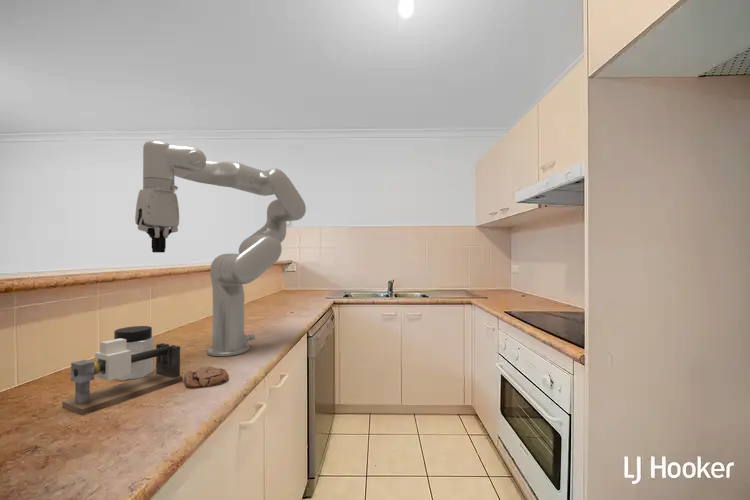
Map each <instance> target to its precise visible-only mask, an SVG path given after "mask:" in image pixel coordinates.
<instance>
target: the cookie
mask: <svg viewBox="0 0 750 500" xmlns="http://www.w3.org/2000/svg"><path fill="white" fill-rule="evenodd" d="M229 378H230V376H229V373H228V371H227V370H226V369H223V368H221V367H219V368H218V367H214V366H210V365H209V366H204V367H200V368H198V369H197V370H195V371H194V372H193V371H192V370H191V371H188V372H187V373H185V374H184V376H183V379H184V380H183V384H184V386H185V387H186V388H187V389H197V388H198V389H199V388H202V389H204V388H212V387H215V386H221V385H223V384H225V383H227V382H228V381H229Z"/></svg>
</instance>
